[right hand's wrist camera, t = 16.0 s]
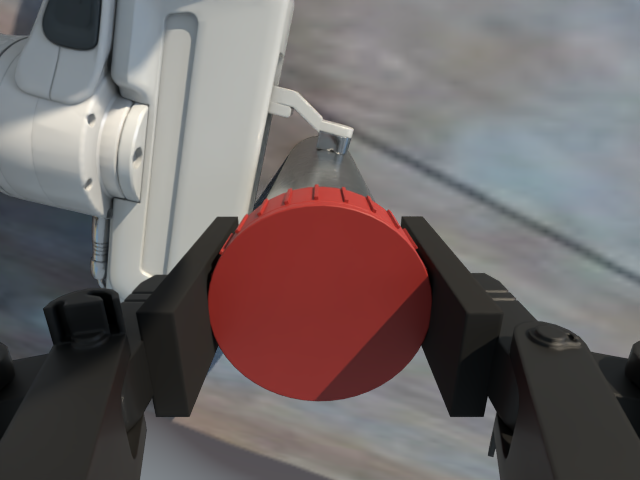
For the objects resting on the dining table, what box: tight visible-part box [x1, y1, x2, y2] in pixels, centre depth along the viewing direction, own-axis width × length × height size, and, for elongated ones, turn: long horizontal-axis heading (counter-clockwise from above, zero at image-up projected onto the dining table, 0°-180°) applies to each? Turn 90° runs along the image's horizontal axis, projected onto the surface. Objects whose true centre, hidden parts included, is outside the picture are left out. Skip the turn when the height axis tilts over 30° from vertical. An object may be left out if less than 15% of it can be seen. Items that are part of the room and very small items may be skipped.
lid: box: [208, 184, 432, 401], centre depth 11 cm, size 6×6×2 cm
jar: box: [267, 136, 376, 203], centre depth 20 cm, size 5×5×20 cm
